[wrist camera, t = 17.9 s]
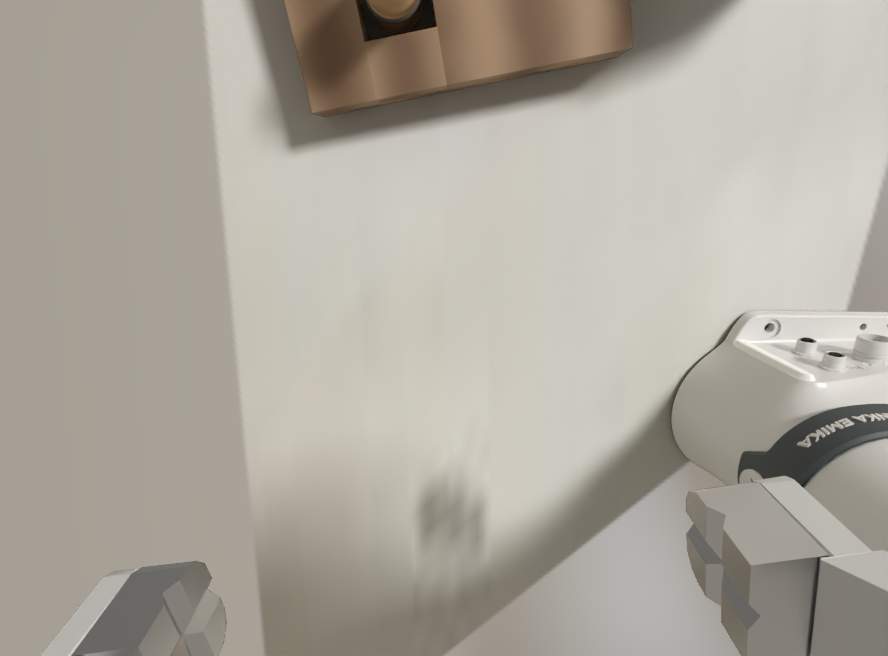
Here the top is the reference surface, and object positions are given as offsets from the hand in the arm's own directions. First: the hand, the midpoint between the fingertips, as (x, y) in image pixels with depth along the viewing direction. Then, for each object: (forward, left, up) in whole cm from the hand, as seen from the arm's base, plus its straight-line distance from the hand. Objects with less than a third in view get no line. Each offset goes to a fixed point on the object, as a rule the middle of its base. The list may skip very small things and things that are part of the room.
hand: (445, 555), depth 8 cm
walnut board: (-4, -17, -34) cm, 38 cm away
